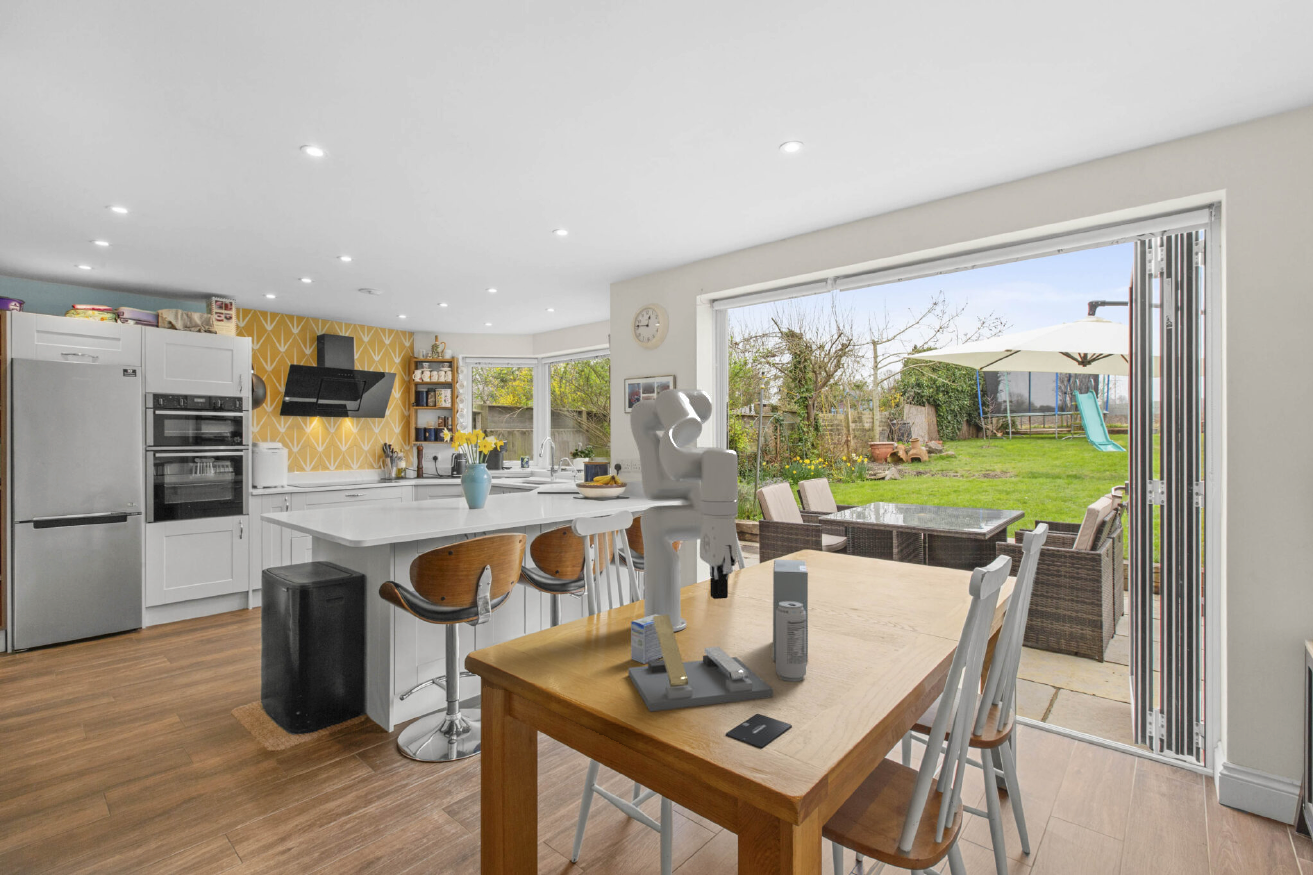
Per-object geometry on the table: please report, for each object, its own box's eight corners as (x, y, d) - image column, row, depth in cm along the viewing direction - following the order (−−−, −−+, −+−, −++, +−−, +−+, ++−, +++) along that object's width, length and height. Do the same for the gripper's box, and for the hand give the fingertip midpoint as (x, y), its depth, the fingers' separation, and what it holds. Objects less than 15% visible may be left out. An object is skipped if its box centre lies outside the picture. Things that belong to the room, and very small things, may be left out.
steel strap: (748, 679, 116) (748, 671, 116) (732, 681, 115) (732, 673, 115) (718, 652, 131) (718, 645, 132) (704, 653, 131) (704, 646, 131)
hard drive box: (808, 664, 133) (808, 572, 133) (772, 662, 134) (772, 571, 135) (805, 641, 148) (805, 559, 148) (773, 640, 150) (773, 558, 150)
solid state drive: (724, 737, 101) (724, 733, 101) (757, 716, 109) (757, 713, 109) (761, 751, 96) (761, 747, 96) (792, 728, 104) (792, 724, 104)
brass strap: (687, 687, 114) (688, 681, 113) (670, 688, 113) (672, 683, 112) (667, 618, 126) (668, 613, 125) (652, 620, 125) (653, 614, 125)
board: (628, 675, 127) (628, 661, 127) (736, 663, 134) (736, 650, 134) (650, 711, 110) (650, 695, 110) (772, 696, 116) (772, 681, 116)
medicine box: (655, 651, 142) (655, 613, 142) (669, 655, 139) (669, 617, 139) (630, 659, 137) (630, 620, 137) (644, 664, 133) (644, 624, 134)
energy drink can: (795, 669, 130) (795, 598, 130) (812, 680, 124) (811, 605, 124) (770, 673, 128) (770, 601, 128) (786, 684, 122) (786, 608, 122)
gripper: (690, 505, 133) (690, 589, 133) (714, 514, 118) (714, 608, 119) (723, 504, 135) (722, 587, 135) (750, 512, 120) (750, 606, 120)
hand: (719, 597), depth 127 cm, fingers closed
